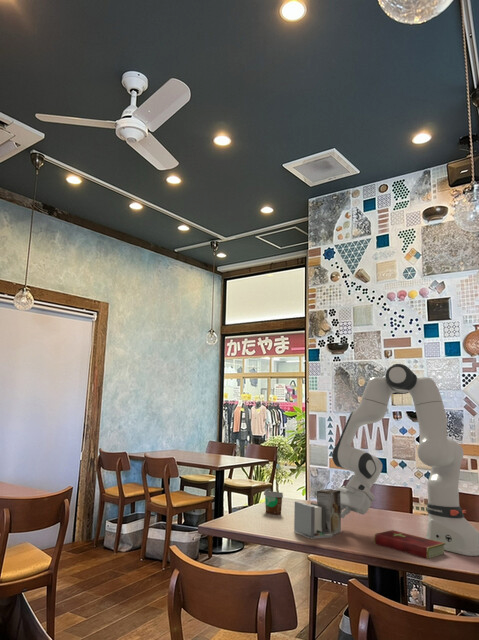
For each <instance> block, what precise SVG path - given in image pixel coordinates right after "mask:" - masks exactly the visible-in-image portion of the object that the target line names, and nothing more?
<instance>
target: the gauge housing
mask: <svg viewBox="0 0 479 640" xmlns="http://www.w3.org/2000/svg"><path fill="white" fill-rule="evenodd" d="M293 521H294V522H293V523H294V524H293V525H294V527H293V532H294V534H297V535H300V536H303V537H305V538H307V539H309V538H310V539H309V540H316V539H326V538H327V539H328V538H333V537H334V535H333V534H332V533H329V532H326V533H318V532H316V533H314V528H315V507H314V506H311V504H307V503H304V502H301V501H294V518H293Z"/></svg>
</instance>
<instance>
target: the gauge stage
mask: <svg viewBox="0 0 479 640" xmlns="http://www.w3.org/2000/svg"><path fill="white" fill-rule="evenodd" d="M310 505H311V506H314V507H315V528H314V533H316V532H318V533H321V530H322V528H326V506H323V505H319V504H317V502H316V503H315V502H310Z"/></svg>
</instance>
